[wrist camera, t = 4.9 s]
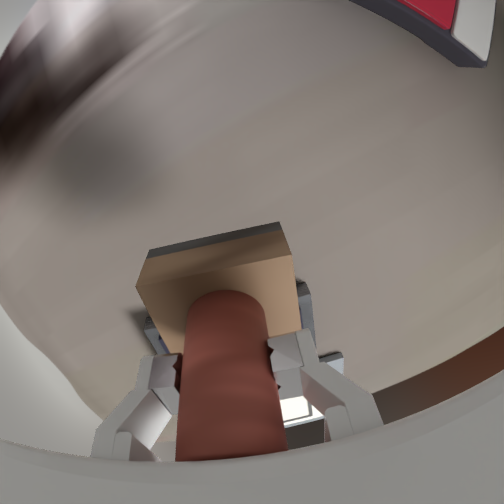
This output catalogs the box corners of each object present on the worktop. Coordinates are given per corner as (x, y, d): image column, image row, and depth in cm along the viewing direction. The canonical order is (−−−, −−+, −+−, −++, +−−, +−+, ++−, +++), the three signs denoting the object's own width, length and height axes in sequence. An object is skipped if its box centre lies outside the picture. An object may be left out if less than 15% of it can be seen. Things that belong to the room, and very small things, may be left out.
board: (341, 352, 31) (344, 359, 30) (339, 408, 37) (341, 414, 36) (178, 387, 31) (177, 394, 30) (213, 435, 37) (213, 441, 36)
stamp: (279, 221, 13) (345, 413, 6) (292, 306, 16) (337, 473, 8) (149, 249, 14) (91, 438, 6) (183, 327, 16) (170, 492, 8)
